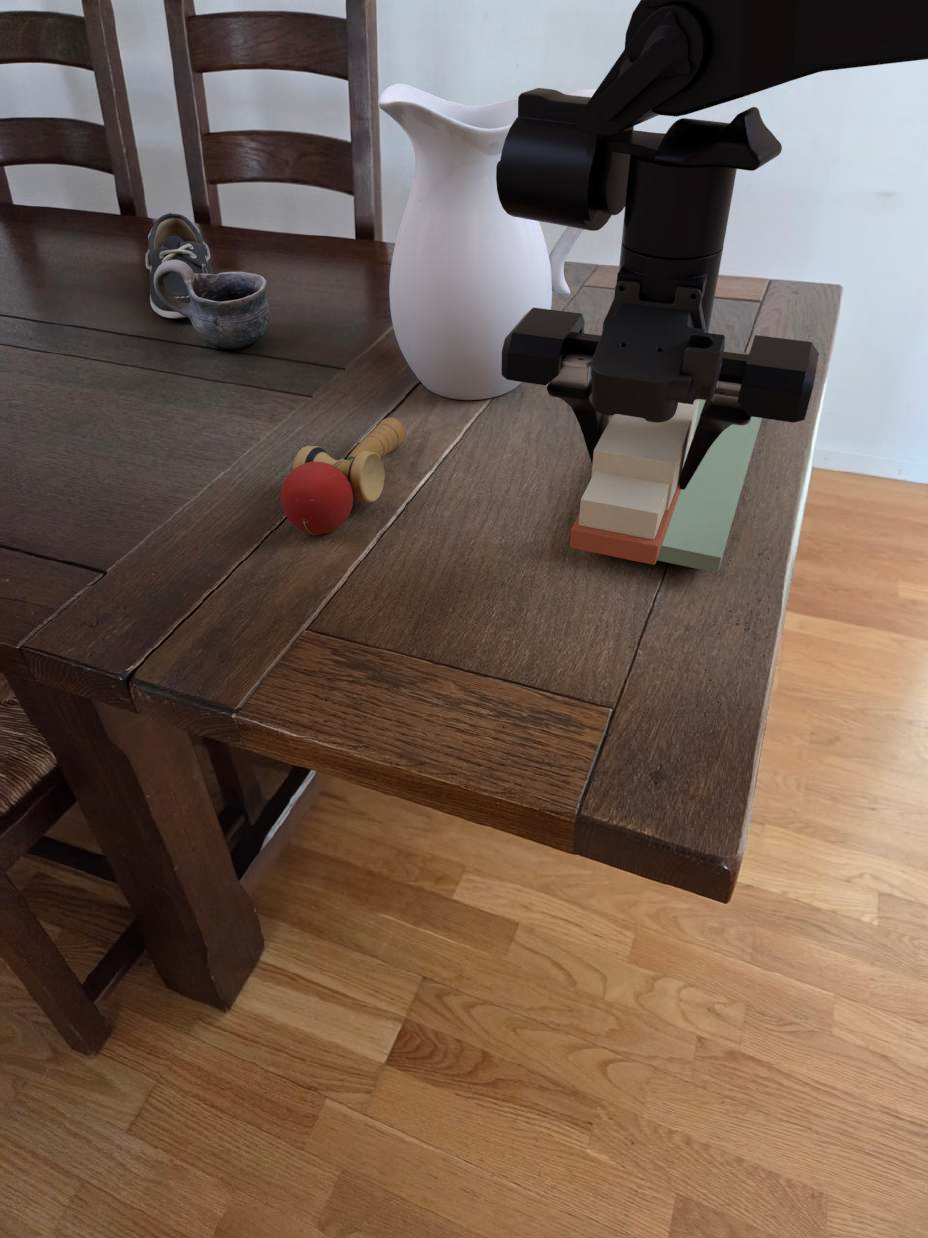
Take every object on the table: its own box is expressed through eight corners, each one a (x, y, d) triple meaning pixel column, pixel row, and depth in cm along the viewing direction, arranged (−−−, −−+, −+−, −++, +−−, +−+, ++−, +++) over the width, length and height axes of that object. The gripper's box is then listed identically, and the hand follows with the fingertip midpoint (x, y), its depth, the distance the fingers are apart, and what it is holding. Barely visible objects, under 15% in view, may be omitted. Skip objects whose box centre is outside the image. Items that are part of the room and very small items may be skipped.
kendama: (350, 450, 86) (254, 526, 72) (359, 391, 83) (258, 459, 68) (420, 476, 85) (336, 558, 71) (432, 417, 81) (345, 491, 67)
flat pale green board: (668, 376, 95) (671, 350, 93) (770, 391, 92) (776, 364, 90) (577, 558, 70) (580, 528, 68) (714, 588, 67) (721, 557, 65)
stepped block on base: (619, 445, 65) (626, 383, 61) (692, 457, 63) (704, 394, 60) (569, 548, 55) (574, 480, 52) (655, 565, 53) (665, 497, 50)
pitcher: (395, 417, 89) (372, 110, 71) (395, 350, 102) (375, 74, 83) (624, 407, 90) (659, 101, 71) (595, 341, 102) (619, 67, 84)
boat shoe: (223, 322, 109) (210, 262, 104) (148, 330, 107) (132, 269, 102) (219, 259, 127) (208, 205, 122) (155, 265, 126) (142, 211, 121)
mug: (281, 352, 102) (267, 265, 95) (173, 368, 99) (151, 280, 92) (269, 322, 109) (255, 239, 102) (168, 336, 106) (147, 252, 99)
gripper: (469, 272, 46) (472, 515, 56) (837, 314, 41) (767, 574, 51) (532, 213, 54) (524, 436, 64) (847, 242, 49) (784, 480, 59)
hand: (640, 479), depth 59 cm, fingers closed on stepped block on base, 5 cm apart
